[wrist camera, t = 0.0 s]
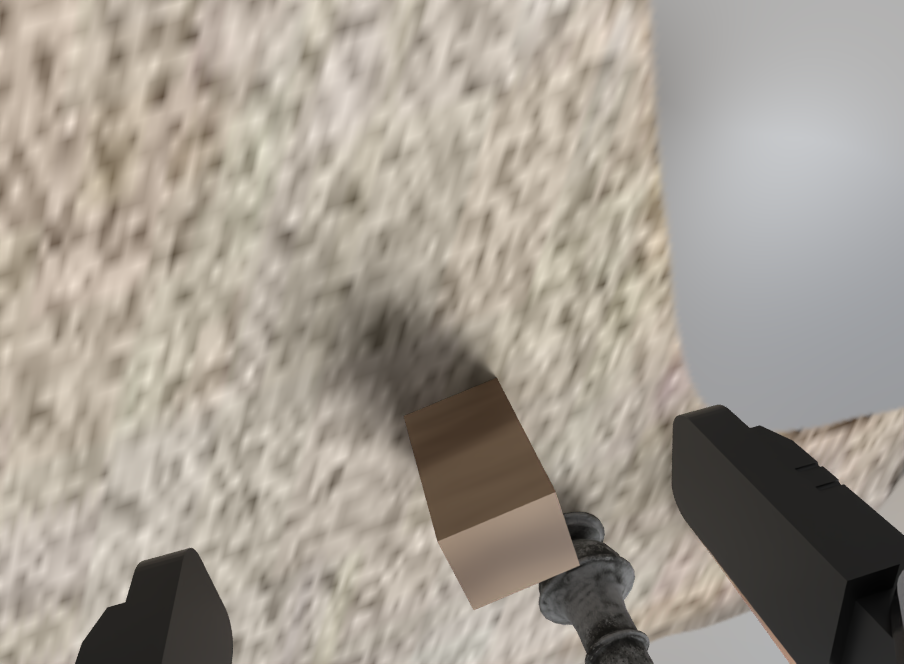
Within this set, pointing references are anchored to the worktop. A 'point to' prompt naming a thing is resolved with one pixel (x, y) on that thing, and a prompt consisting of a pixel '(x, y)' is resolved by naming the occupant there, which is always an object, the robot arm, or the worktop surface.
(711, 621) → the worktop surface
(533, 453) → the walnut block
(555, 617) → the dark grey turned piece
